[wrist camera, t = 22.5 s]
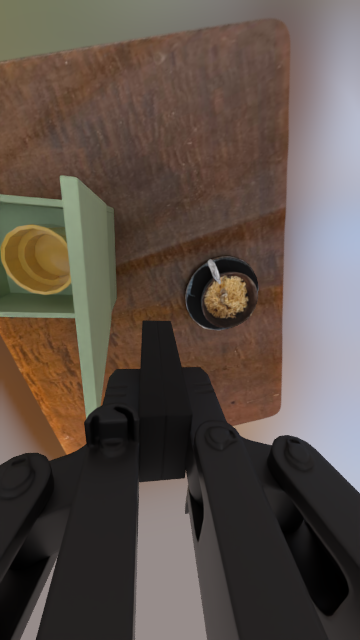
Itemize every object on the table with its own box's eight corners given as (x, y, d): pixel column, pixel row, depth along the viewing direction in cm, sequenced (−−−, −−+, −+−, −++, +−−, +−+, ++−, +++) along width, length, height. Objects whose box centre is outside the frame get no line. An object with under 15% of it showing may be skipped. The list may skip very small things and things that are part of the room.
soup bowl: (188, 332, 48) (195, 350, 41) (179, 255, 42) (185, 262, 35) (255, 321, 49) (273, 336, 43) (257, 244, 43) (277, 248, 36)
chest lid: (86, 424, 17) (98, 423, 17) (58, 174, 11) (77, 176, 11) (105, 320, 34) (111, 320, 34) (99, 203, 28) (106, 203, 28)
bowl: (17, 261, 38) (-11, 270, 31) (42, 211, 35) (18, 208, 29) (71, 292, 41) (56, 306, 34) (98, 248, 39) (87, 253, 32)
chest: (9, 295, 40) (-30, 316, 32) (-13, 196, 34) (-69, 188, 26) (116, 298, 43) (109, 318, 34) (113, 208, 37) (103, 203, 28)
